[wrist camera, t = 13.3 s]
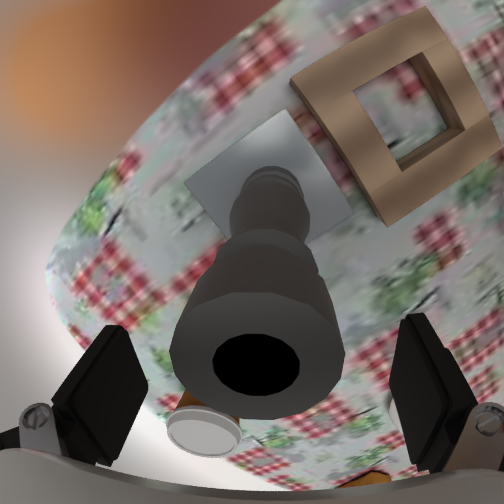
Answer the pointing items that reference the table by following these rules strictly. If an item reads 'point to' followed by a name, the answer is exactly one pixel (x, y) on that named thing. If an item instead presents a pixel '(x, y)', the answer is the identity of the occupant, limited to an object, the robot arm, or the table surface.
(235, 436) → the disposable coffee cup
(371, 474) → the coffee package
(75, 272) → the table surface
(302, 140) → the metal tile
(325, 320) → the candle holder
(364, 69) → the socket block
